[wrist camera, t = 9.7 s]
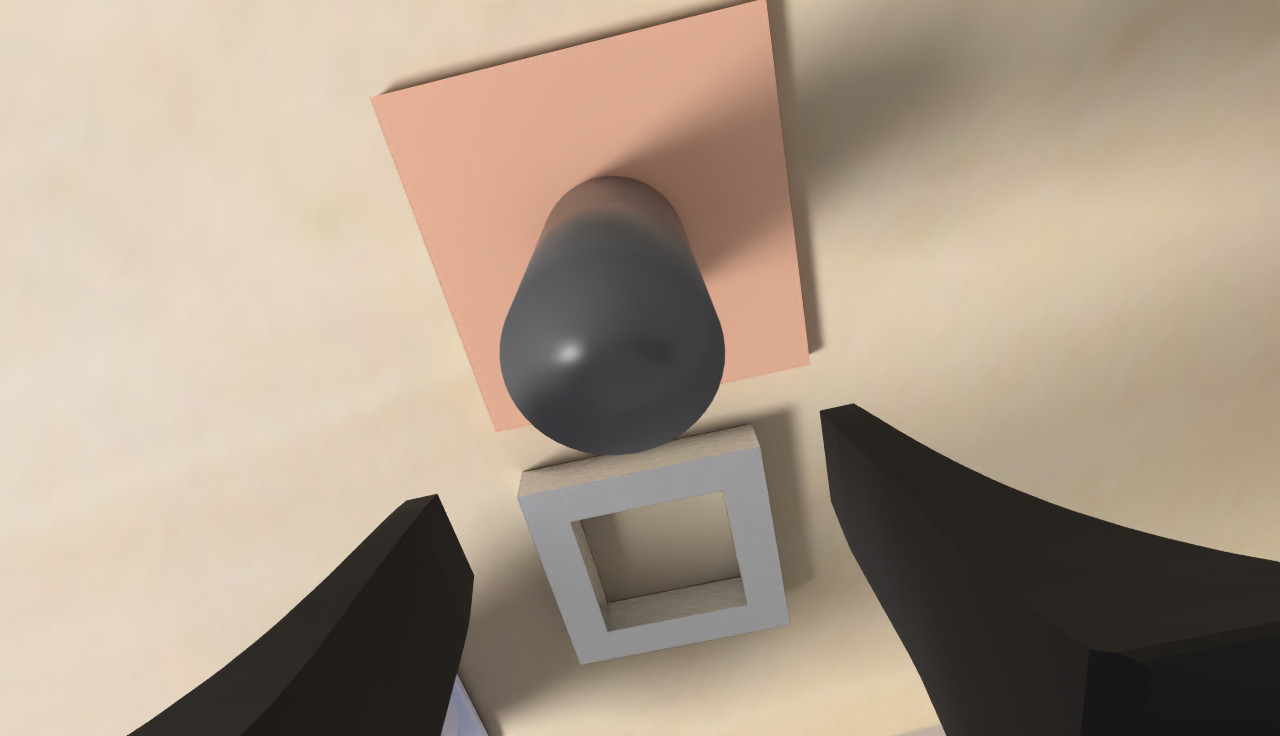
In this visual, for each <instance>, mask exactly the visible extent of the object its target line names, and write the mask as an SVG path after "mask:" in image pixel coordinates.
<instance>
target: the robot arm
mask: <svg viewBox="0 0 1280 736" xmlns="http://www.w3.org/2000/svg"><path fill="white" fill-rule="evenodd" d="M820 417H821V425H822V433H823V441H824V449H825V457H826V465H827V473H828V481H829V489H830V497H831V502H832V505H833V508H834V510H835V513H836V515H837V518H838V520H839V523H840V525H841V528H842V530H843V533H844V535H845V538H846V540H847V542H848V545H849V547H850V549H851V551H852V553H853V555H854V557H855V559H856V560H857V562H858V564H859V566H860V568H861V569H862V571H863V573H864V575H865V577H866V578H867V580H868V582H869V584H870V586H871V587H872V589H873V591H874V593H875V595H876V596H877V598H878V600H879V602H880V603H881V605H882V607H883V609H884V611H885V612H886V614H887V616H888V618H889V619H890V621H891V623H892V625H893V627H894V628H895V630H896V632H897V634H898V635H899V637H900V639H901V641H902V643H903V644H904V646H905V648H906V650H907V652H908V653H909V655H910V657H911V659H912V661H913V663H914V665H915V667H916V669H917V671H918V673H919V675H920V677H921V679H922V681H923V683H924V686H925V688H926V690H927V693H928V695H929V697H930V699H931V702H932V704H933V706H934V709H935V711H936V713H937V715H938V718H939V720H940V722H941V724H942V727H943V729H944V731H945V734H946V736H1280V562H1278V561H1272V560H1267V559H1261V558H1256V557H1250V556H1245V555H1239V554H1234V553H1229V552H1224V551H1219V550H1215V549H1211V548H1206V547H1202V546H1198V545H1194V544H1189V543H1185V542H1181V541H1177V540H1173V539H1168V538H1164V537H1160V536H1156V535H1153V534H1149V533H1145V532H1142V531H1138V530H1134V529H1130V528H1127V527H1123V526H1120V525H1117V524H1114V523H1110V522H1107V521H1104V520H1101V519H1098V518H1094V517H1091V516H1088V515H1085V514H1081V513H1078V512H1075V511H1072V510H1069V509H1066V508H1064V507H1061V506H1058V505H1055V504H1052V503H1049V502H1047V501H1044V500H1042V499H1039V498H1037V497H1034V496H1032V495H1029V494H1026V493H1024V492H1021V491H1019V490H1016V489H1014V488H1011V487H1009V486H1006V485H1004V484H1002V483H999V482H997V481H995V480H993V479H990V478H988V477H986V476H984V475H982V474H980V473H978V472H976V471H974V470H971V469H969V468H967V467H965V466H963V465H961V464H959V463H957V462H955V461H953V460H951V459H949V458H947V457H945V456H943V455H941V454H940V453H938V452H936V451H934V450H932V449H930V448H928V447H927V446H925V445H923V444H921V443H920V442H918V441H916V440H914V439H912V438H911V437H909V436H907V435H906V434H904V433H902V432H900V431H899V430H897V429H895V428H894V427H892V426H890V425H889V424H887V423H885V422H884V421H882V420H880V419H879V418H877V417H876V416H874V415H872V414H871V413H869V412H867V411H866V410H864V409H862V408H861V407H859V406H857V405H855V404H854V403H853V404H849V405H844V406H839V407H835V408H830V409H826V410H821V411H820ZM473 582H474V574H473V572H472V570H471V567H470V565H469V563H468V561H467V558H466V556H465V554H464V552H463V550H462V547H461V545H460V543H459V541H458V538H457V536H456V534H455V532H454V530H453V527H452V525H451V523H450V521H449V518H448V516H447V514H446V512H445V510H444V507H443V505H442V503H441V501H440V498H439V496H438V494H434V495H430V496H425V497H420V498H416V499H411V500H407V501H405V502H404V503H403V504H402V505H401V506H399V507H398V508H397V509H396V510H395V511H394V512H393V513H392V514H390V515H389V516H388V517H387V518H386V519H385V520H384V521H383V522H382V523H381V524H380V525H379V526H378V527H377V528H376V529H375V530H374V531H373V532H372V533H371V534H370V535H369V536H368V537H367V538H366V539H365V540H364V541H363V542H362V543H361V544H360V545H359V546H358V547H357V548H356V549H355V550H354V551H353V552H352V553H351V554H350V555H349V556H348V557H347V558H346V559H345V560H344V561H343V562H342V563H341V564H340V565H339V566H338V567H337V568H336V569H335V570H334V571H333V572H332V573H331V574H330V575H329V576H328V577H327V578H326V579H325V580H323V581H322V582H321V583H320V584H319V585H318V586H317V587H316V588H315V589H314V590H313V591H312V592H311V593H309V594H308V595H307V596H306V597H305V598H304V599H303V600H302V601H301V602H300V603H299V604H298V605H296V606H295V607H294V608H293V609H292V610H291V611H290V612H289V613H288V614H287V615H286V616H285V617H284V618H282V619H281V620H280V621H279V622H278V623H277V624H276V625H275V626H273V627H272V628H271V629H270V630H269V631H268V632H266V633H265V634H264V635H263V636H262V637H260V638H259V639H258V640H257V641H256V642H255V643H253V644H252V645H251V646H250V647H248V648H247V649H246V650H245V651H243V652H242V653H241V654H240V655H238V656H237V657H236V658H235V659H233V660H232V661H231V662H230V663H228V664H227V665H226V666H225V667H223V668H222V669H221V670H219V671H218V672H217V673H216V674H214V675H213V676H212V677H210V678H209V679H207V680H206V681H205V682H203V683H202V684H200V685H199V686H198V687H196V688H195V689H193V690H192V691H191V692H189V693H188V694H186V695H185V696H184V697H182V698H181V699H179V700H178V701H177V702H175V703H174V704H172V705H171V706H170V707H168V708H167V709H165V710H164V711H163V712H161V713H160V714H158V715H157V716H156V717H154V718H153V719H151V720H150V721H148V722H147V723H145V724H144V725H143V726H141V727H139V728H138V729H136V730H135V731H133V732H132V733H130V734H129V735H127V736H488V734H487V732H486V730H485V728H484V726H483V724H482V722H481V720H480V718H479V716H478V714H477V712H476V710H475V708H474V706H473V704H472V702H471V700H470V699H469V697H468V695H467V693H466V691H465V689H464V687H463V685H462V683H461V681H460V679H459V677H458V675H457V671H458V667H459V663H460V659H461V655H462V651H463V647H464V643H465V639H466V635H467V631H468V626H469V619H470V611H471V603H472V593H473Z"/></svg>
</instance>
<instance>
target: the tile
mask: <svg viewBox="0 0 1280 736" xmlns="http://www.w3.org/2000/svg"><path fill="white" fill-rule="evenodd" d="M370 100H371V102H372V105H373V108H374V110H375V113H376V116H377V118H378V121H379V124H380V126H381V129H382V132H383V134H384V137H385V140H386V142H387V145H388V148H389V150H390V153H391V155H392V158H393V161H394V163H395V166H396V169H397V171H398V174H399V177H400V179H401V182H402V185H403V187H404V190H405V193H406V195H407V198H408V201H409V203H410V206H411V209H412V211H413V214H414V217H415V219H416V222H417V225H418V227H419V230H420V233H421V235H422V238H423V241H424V243H425V246H426V248H427V251H428V254H429V256H430V259H431V262H432V264H433V267H434V270H435V272H436V275H437V278H438V280H439V283H440V286H441V288H442V291H443V294H444V296H445V299H446V302H447V304H448V307H449V310H450V312H451V315H452V318H453V320H454V323H455V326H456V328H457V331H458V333H459V336H460V339H461V341H462V344H463V347H464V349H465V352H466V355H467V357H468V360H469V363H470V365H471V368H472V371H473V373H474V376H475V379H476V381H477V384H478V387H479V389H480V392H481V395H482V397H483V400H484V403H485V405H486V408H487V411H488V413H489V416H490V419H491V421H492V424H493V426H494V429H495V432H500V431H504V430H509V429H514V428H518V427H523V426H527V425H532V424H531V423H530V422H529V421H528V420H527V419H526V418H525V417H524V416H523V414H522V413H521V412H520V411H519V409H518V408H517V407H516V405H515V404H514V402H513V400H512V399H511V397H510V395H509V393H508V390H507V388H506V386H505V383H504V379H503V376H502V372H501V366H500V358H499V355H500V339H501V333H502V329H503V326H504V322H505V319H506V316H507V314H508V312H509V309H510V307H511V304H512V302H513V300H514V297H515V295H516V292H517V290H518V288H519V285H520V283H521V280H522V278H523V276H524V273H525V271H526V269H527V266H528V264H529V261H530V259H531V257H532V254H533V252H534V249H535V247H536V245H537V242H538V240H539V237H540V235H541V233H542V230H543V228H544V225H545V223H546V221H547V218H548V216H549V214H550V212H551V211H552V209H553V208H554V206H555V205H556V203H557V202H558V201H559V200H560V199H561V198H562V196H564V195H565V194H566V193H567V192H568V191H569V190H571V189H572V188H574V187H575V186H577V185H579V184H581V183H583V182H585V181H588V180H591V179H594V178H598V177H604V176H621V177H628V178H632V179H636V180H638V181H641V182H643V183H646V184H647V185H649V186H651V187H653V188H654V189H655V190H657V191H658V192H659V193H661V194H662V195H663V196H664V197H665V198H666V199H667V200H668V201H669V203H670V204H671V205H672V206H673V208H674V209H675V211H676V213H677V215H678V216H679V219H680V221H681V224H682V226H683V229H684V231H685V234H686V236H687V239H688V241H689V244H690V246H691V249H692V252H693V254H694V257H695V259H696V262H697V264H698V267H699V269H700V272H701V275H702V277H703V280H704V282H705V285H706V287H707V290H708V292H709V295H710V298H711V300H712V303H713V305H714V308H715V310H716V313H717V315H718V318H719V321H720V323H721V327H722V331H723V335H724V342H725V365H724V371H723V376H722V379H721V382H720V384H722V383H727V382H731V381H736V380H741V379H745V378H750V377H755V376H759V375H764V374H769V373H773V372H778V371H782V370H787V369H792V368H796V367H801V366H806V365H810V360H809V352H808V343H807V335H806V327H805V318H804V310H803V302H802V293H801V285H800V277H799V269H798V260H797V252H796V244H795V235H794V227H793V219H792V210H791V202H790V194H789V186H788V177H787V169H786V161H785V152H784V144H783V136H782V127H781V119H780V111H779V103H778V94H777V86H776V78H775V69H774V61H773V53H772V44H771V36H770V28H769V20H768V11H767V3H766V0H757V1H753V2H749V3H745V4H741V5H737V6H733V7H729V8H725V9H721V10H717V11H713V12H709V13H705V14H701V15H697V16H693V17H689V18H685V19H681V20H677V21H673V22H669V23H665V24H661V25H657V26H653V27H649V28H645V29H641V30H637V31H633V32H629V33H625V34H621V35H617V36H613V37H609V38H605V39H601V40H597V41H593V42H589V43H585V44H581V45H577V46H573V47H570V48H566V49H562V50H558V51H554V52H550V53H546V54H542V55H538V56H534V57H530V58H526V59H522V60H518V61H514V62H510V63H506V64H502V65H498V66H494V67H490V68H486V69H482V70H478V71H474V72H470V73H466V74H462V75H458V76H454V77H450V78H446V79H442V80H438V81H434V82H430V83H426V84H422V85H418V86H414V87H410V88H406V89H402V90H398V91H394V92H390V93H386V94H382V95H378V96H374V97H370Z"/></svg>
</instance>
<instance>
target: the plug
mask: <svg viewBox="0 0 1280 736" xmlns="http://www.w3.org/2000/svg"><path fill="white" fill-rule="evenodd" d="M499 358H500V366H501V372H502V376H503V379H504V383H505V386H506V388H507V390H508V393H509V395H510V397H511V399H512V400H513V402H514V404H515V405H516V407H517V408H518V409H519V411H520V412H521V413H522V414H523V416H524V417H525V418H526V419H527V420H528V421H529V422H530V423H531V424H532V425H533V426H534V427H535V428H536V429H538V430H539V431H540V432H542V433H543V434H544V435H546V436H547V437H549V438H551V439H553V440H554V441H556V442H558V443H560V444H562V445H565V446H567V447H569V448H572V449H576V450H579V451H582V452H587V453H592V454H599V455H626V454H633V453H639V452H643V451H646V450H650V449H653V448H656V447H658V446H661V445H663V444H665V443H667V442H669V441H671V440H673V439H675V438H676V437H678V436H679V435H681V434H682V433H683V432H685V431H686V430H687V429H689V428H690V427H691V426H692V425H693V424H694V423H695V422H696V421H697V420H698V419H699V418H700V417H701V416H702V415H703V413H704V412H705V411H706V410H707V408H708V407H709V405H710V404H711V402H712V401H713V399H714V397H715V395H716V392H717V390H718V388H719V385H720V382H721V379H722V376H723V371H724V365H725V342H724V335H723V331H722V327H721V323H720V321H719V318H718V315H717V313H716V310H715V308H714V305H713V303H712V300H711V298H710V295H709V292H708V290H707V287H706V285H705V282H704V280H703V277H702V275H701V272H700V269H699V267H698V264H697V262H696V259H695V257H694V254H693V252H692V249H691V246H690V244H689V241H688V239H687V236H686V234H685V231H684V229H683V226H682V224H681V221H680V219H679V216H678V215H677V213H676V211H675V209H674V208H673V206H672V205H671V204H670V203H669V201H668V200H667V199H666V198H665V197H664V196H663V195H662V194H661V193H659V192H658V191H657V190H655V189H654V188H653V187H651V186H649V185H647V184H646V183H643V182H641V181H638V180H636V179H632V178H628V177H621V176H604V177H598V178H594V179H591V180H588V181H585V182H583V183H581V184H579V185H577V186H575V187H574V188H572V189H571V190H569V191H568V192H567V193H566V194H565V195H564V196H562V198H561V199H560V200H559V201H558V202H557V203H556V205H555V206H554V208H553V209H552V211H551V212H550V214H549V216H548V218H547V221H546V223H545V225H544V228H543V230H542V233H541V235H540V237H539V240H538V242H537V245H536V247H535V249H534V252H533V254H532V257H531V259H530V261H529V264H528V266H527V269H526V271H525V273H524V276H523V278H522V280H521V283H520V285H519V288H518V290H517V292H516V295H515V297H514V300H513V302H512V304H511V307H510V309H509V312H508V314H507V316H506V319H505V322H504V326H503V329H502V333H501V339H500V355H499Z"/></svg>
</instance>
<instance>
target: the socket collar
mask: <svg viewBox="0 0 1280 736" xmlns="http://www.w3.org/2000/svg"><path fill="white" fill-rule="evenodd" d="M718 491H723V494H724V499H725V504H726V508H727V513H728V518H729V523H730V528H731V533H732V538H733V542H734V547H735V552H736V557H737V562H738V567H739V572H740V576H741V577H738V578H733V579H728V580H723V581H717V582H712V583H707V584H702V585H697V586H692V587H687V588H682V589H677V590H672V591H667V592H662V593H657V594H651V595H646V596H641V597H636V598H631V599H626V600H621V601H616V602H611V603H608V602H607V599H606V596H605V593H604V590H603V587H602V584H601V581H600V578H599V575H598V572H597V569H596V566H595V563H594V560H593V557H592V554H591V551H590V548H589V545H588V542H587V539H586V536H585V533H584V530H583V527H582V524H581V521H580V520H582V519H587V518H592V517H597V516H601V515H606V514H611V513H616V512H621V511H626V510H631V509H635V508H640V507H645V506H650V505H655V504H660V503H665V502H669V501H674V500H679V499H684V498H689V497H694V496H699V495H704V494H708V493H713V492H718ZM517 499H518V502H519V504H520V507H521V509H522V512H523V515H524V517H525V520H526V523H527V525H528V528H529V531H530V533H531V536H532V538H533V541H534V544H535V546H536V549H537V552H538V554H539V557H540V560H541V562H542V565H543V567H544V570H545V573H546V575H547V578H548V581H549V583H550V586H551V589H552V591H553V594H554V596H555V599H556V602H557V604H558V607H559V610H560V612H561V615H562V618H563V620H564V623H565V625H566V628H567V631H568V633H569V636H570V639H571V641H572V644H573V647H574V649H575V652H576V655H577V657H578V660H579V662H580V665H583V664H588V663H593V662H598V661H603V660H609V659H614V658H619V657H624V656H630V655H635V654H640V653H645V652H650V651H656V650H661V649H666V648H671V647H676V646H682V645H687V644H692V643H697V642H703V641H708V640H713V639H718V638H723V637H729V636H734V635H739V634H744V633H750V632H755V631H760V630H765V629H770V628H776V627H781V626H786V625H790V621H789V615H788V609H787V603H786V597H785V591H784V585H783V579H782V573H781V567H780V561H779V555H778V549H777V543H776V537H775V531H774V526H773V520H772V514H771V508H770V502H769V496H768V490H767V484H766V478H765V472H764V466H763V460H762V454H761V448H760V445H759V442H758V439H757V437H756V434H755V431H754V429H753V426H752V424H749V425H744V426H739V427H735V428H730V429H725V430H720V431H716V432H711V433H706V434H702V435H697V436H692V437H687V438H683V439H678V440H673V441H669V442H667V443H665V444H663V445H661V446H658V447H656V448H653V449H650V450H646V451H643V452H639V453H633V454H626V455H602V456H597V457H593V458H588V459H583V460H579V461H574V462H569V463H564V464H560V465H555V466H550V467H545V468H541V469H536V470H531V471H526V472H522V476H521V480H520V485H519V490H518V494H517Z"/></svg>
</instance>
